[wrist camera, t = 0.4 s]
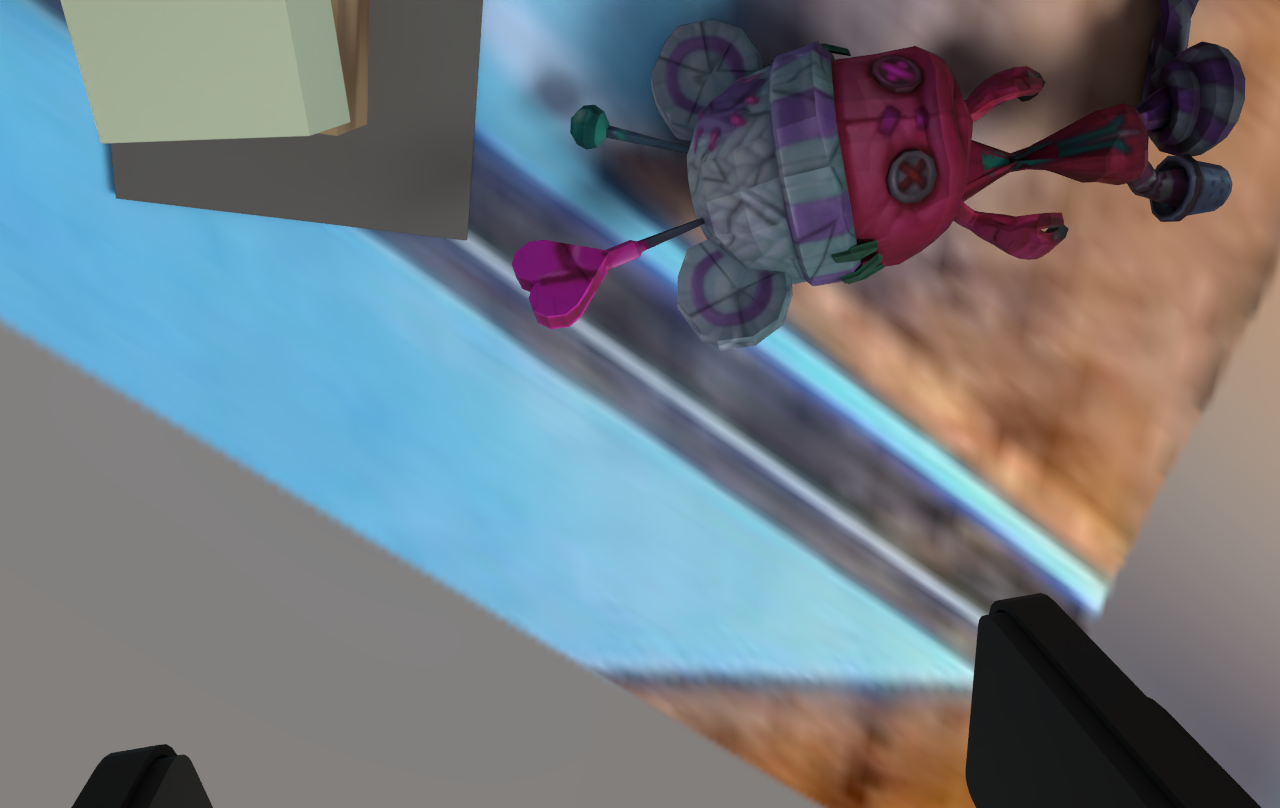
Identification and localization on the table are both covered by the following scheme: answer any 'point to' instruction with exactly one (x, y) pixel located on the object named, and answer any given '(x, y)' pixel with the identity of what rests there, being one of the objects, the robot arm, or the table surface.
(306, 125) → the block top
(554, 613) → the table surface
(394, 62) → the mat
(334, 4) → the block bottom
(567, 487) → the table surface
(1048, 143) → the toy
